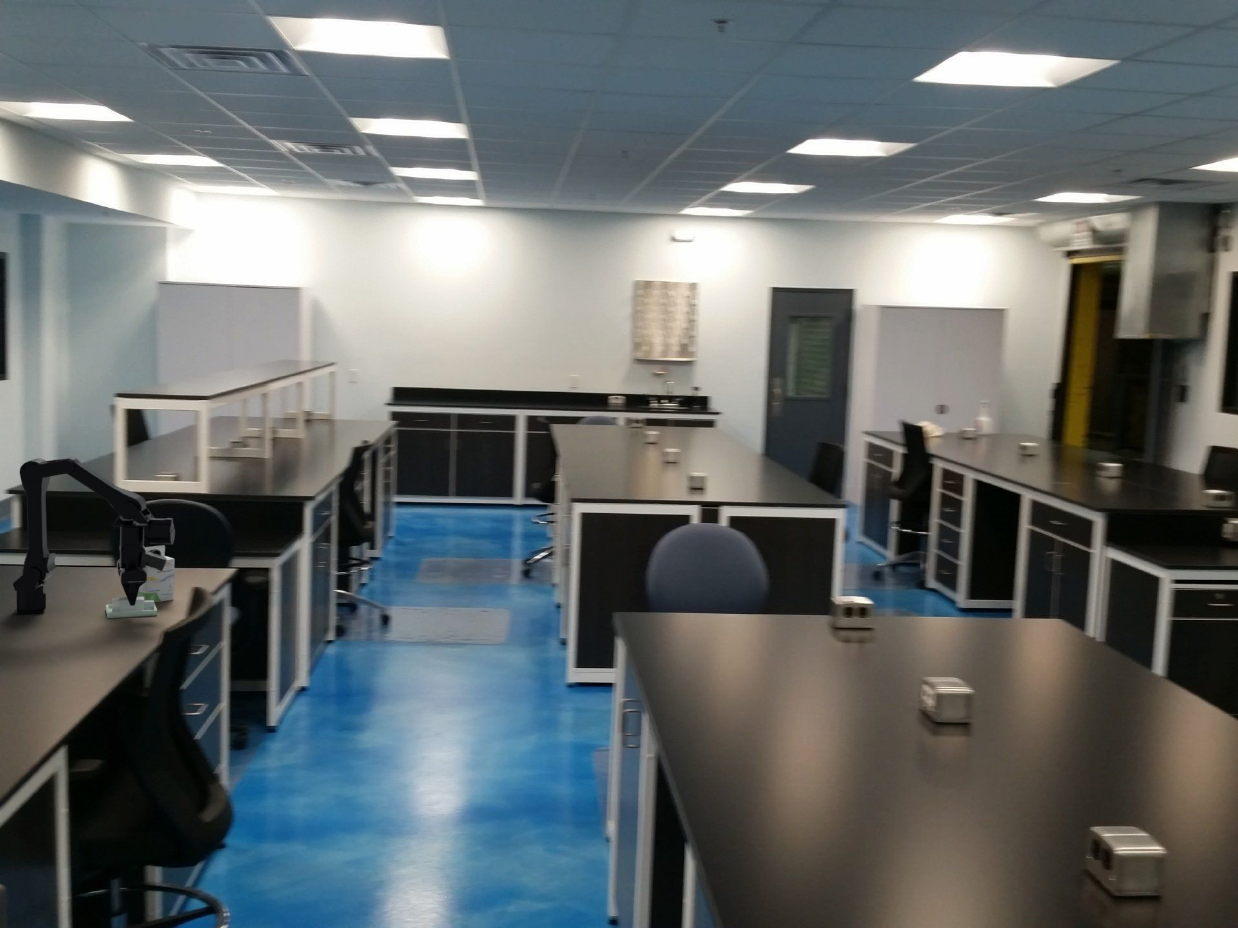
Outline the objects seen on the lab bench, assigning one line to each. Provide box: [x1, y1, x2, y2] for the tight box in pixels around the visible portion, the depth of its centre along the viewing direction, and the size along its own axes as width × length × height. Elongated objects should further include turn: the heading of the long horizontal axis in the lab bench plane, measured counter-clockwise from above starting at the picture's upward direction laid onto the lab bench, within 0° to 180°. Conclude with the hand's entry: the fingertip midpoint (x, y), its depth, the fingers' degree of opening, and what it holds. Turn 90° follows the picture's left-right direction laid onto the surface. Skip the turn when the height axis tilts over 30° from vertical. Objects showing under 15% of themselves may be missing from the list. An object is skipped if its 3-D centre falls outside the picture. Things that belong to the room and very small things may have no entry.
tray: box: [105, 602, 158, 619], centre depth 312 cm, size 12×9×1 cm
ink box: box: [137, 544, 175, 603], centre depth 326 cm, size 9×5×15 cm, turn 143°
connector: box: [111, 596, 155, 612], centre depth 311 cm, size 10×4×3 cm, turn 116°
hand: (131, 601), depth 311 cm, fingers open, 9 cm apart
